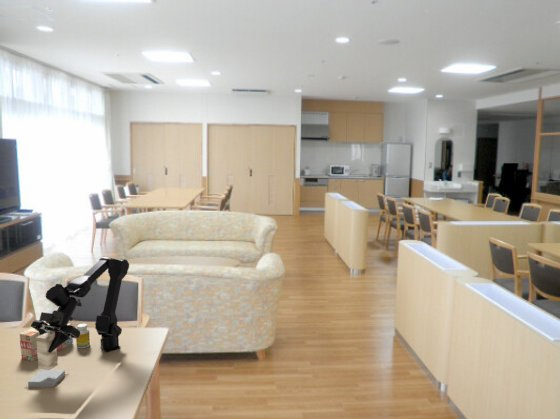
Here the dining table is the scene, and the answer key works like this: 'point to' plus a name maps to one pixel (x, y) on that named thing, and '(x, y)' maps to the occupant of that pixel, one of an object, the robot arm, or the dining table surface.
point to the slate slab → (46, 378)
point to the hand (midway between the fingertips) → (43, 351)
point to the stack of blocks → (35, 343)
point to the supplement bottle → (83, 336)
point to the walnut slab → (49, 387)
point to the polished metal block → (46, 352)
